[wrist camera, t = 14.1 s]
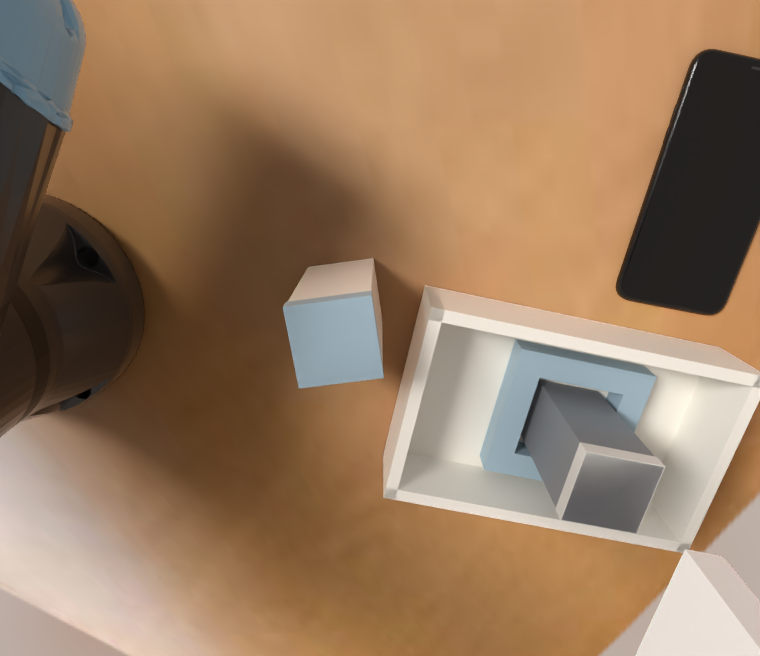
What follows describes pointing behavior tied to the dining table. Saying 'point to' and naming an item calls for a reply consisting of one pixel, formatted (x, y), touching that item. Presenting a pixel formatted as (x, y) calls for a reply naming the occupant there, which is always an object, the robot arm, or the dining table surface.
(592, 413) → the grey plug
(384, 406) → the dining table surface
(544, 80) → the dining table surface
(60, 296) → the robot arm
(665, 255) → the smartphone
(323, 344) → the cream plug
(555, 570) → the dining table surface
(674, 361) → the tray box
